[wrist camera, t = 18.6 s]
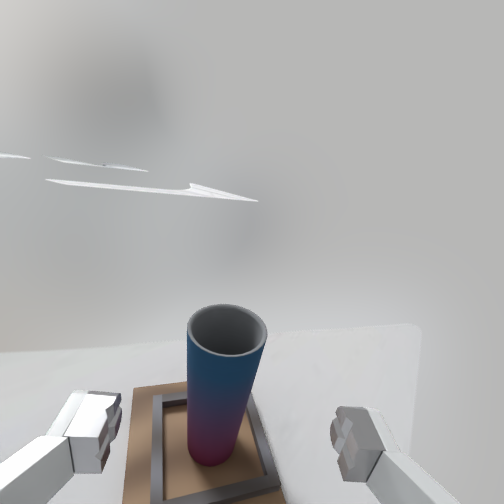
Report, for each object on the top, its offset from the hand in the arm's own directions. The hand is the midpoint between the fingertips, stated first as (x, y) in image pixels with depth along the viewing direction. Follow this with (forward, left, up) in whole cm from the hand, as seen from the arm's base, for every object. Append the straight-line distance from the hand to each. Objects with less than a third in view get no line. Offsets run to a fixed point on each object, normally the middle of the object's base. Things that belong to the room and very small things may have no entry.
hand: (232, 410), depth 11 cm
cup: (+12, -3, -21) cm, 24 cm away
